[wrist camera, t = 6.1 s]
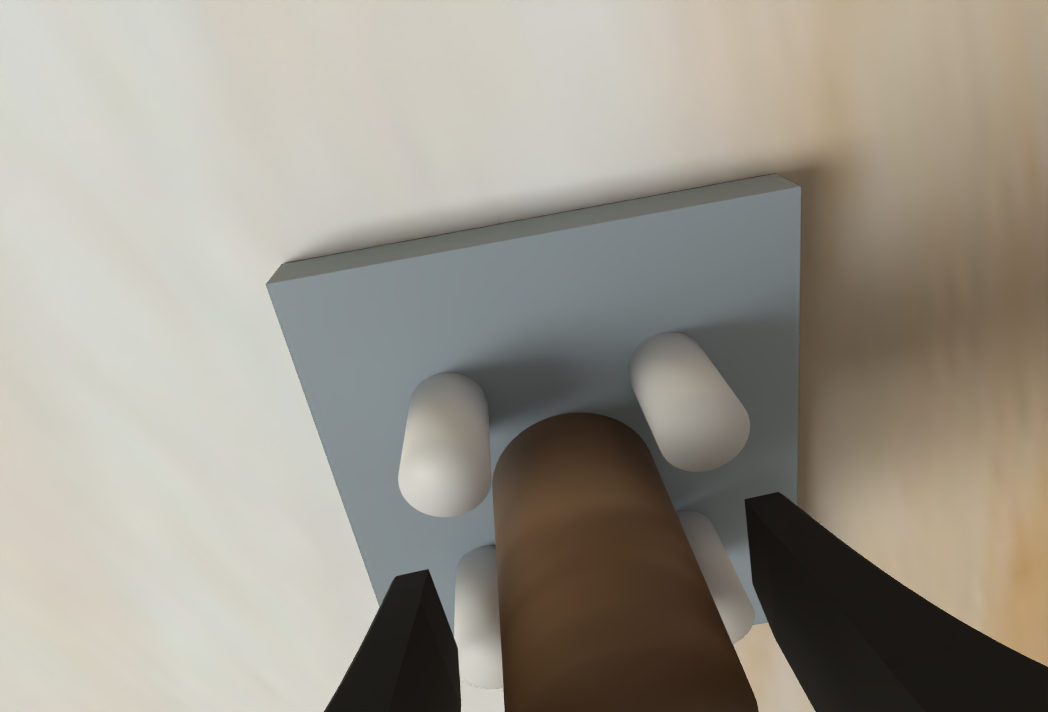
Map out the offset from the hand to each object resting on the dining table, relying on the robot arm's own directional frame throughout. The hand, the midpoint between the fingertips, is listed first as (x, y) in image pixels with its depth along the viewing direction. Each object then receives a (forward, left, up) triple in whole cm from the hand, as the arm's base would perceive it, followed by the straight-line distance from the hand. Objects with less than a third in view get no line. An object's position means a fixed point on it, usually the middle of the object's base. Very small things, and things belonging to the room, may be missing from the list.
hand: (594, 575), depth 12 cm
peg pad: (0, 0, -4) cm, 4 cm away
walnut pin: (0, 0, -3) cm, 3 cm away
